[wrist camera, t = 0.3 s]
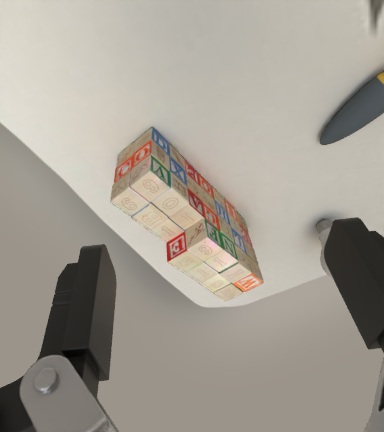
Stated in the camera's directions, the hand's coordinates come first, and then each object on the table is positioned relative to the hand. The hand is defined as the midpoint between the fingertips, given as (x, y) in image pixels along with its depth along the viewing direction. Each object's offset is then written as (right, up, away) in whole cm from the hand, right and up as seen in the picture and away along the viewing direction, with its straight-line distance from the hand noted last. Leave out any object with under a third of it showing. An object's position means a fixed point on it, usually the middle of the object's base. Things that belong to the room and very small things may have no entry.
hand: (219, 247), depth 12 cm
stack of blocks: (-2, +5, +35) cm, 35 cm away
